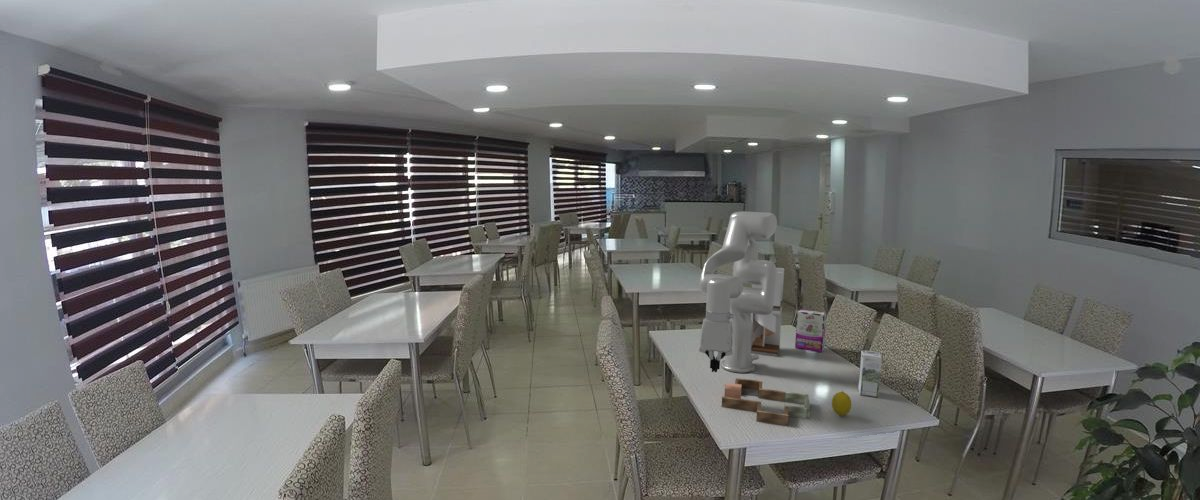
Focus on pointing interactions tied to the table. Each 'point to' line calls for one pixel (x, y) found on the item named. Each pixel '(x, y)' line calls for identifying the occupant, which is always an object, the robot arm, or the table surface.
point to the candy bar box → (810, 330)
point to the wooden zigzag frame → (752, 389)
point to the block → (733, 390)
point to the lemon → (841, 403)
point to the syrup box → (869, 373)
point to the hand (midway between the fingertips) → (714, 370)
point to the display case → (768, 323)
